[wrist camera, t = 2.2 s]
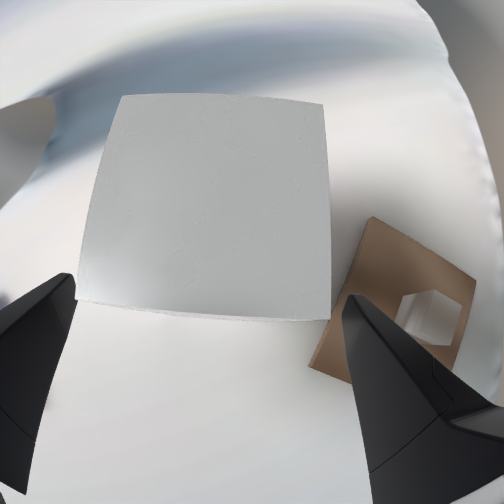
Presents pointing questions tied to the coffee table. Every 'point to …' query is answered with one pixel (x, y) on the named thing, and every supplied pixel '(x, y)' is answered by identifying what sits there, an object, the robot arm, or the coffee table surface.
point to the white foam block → (211, 210)
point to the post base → (401, 297)
